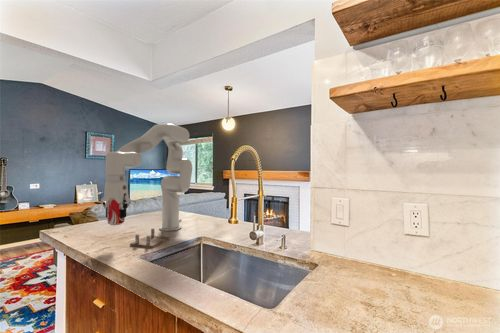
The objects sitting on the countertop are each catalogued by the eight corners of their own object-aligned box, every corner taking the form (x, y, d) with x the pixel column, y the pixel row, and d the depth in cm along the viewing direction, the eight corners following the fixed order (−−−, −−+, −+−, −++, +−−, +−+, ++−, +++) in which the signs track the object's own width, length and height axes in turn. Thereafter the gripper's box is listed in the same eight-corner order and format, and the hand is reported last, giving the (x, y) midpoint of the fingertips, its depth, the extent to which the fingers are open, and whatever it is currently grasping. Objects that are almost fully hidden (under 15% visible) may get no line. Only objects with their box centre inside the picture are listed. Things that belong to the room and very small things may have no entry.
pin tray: (149, 237, 130) (149, 227, 130) (169, 239, 127) (169, 229, 127) (129, 246, 116) (130, 234, 116) (152, 248, 113) (152, 237, 113)
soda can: (117, 226, 110) (116, 199, 110) (103, 225, 111) (103, 199, 111) (128, 222, 117) (127, 197, 117) (115, 221, 118) (114, 196, 118)
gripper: (137, 178, 115) (137, 216, 116) (106, 177, 119) (107, 214, 120) (125, 179, 108) (126, 220, 108) (93, 178, 112) (93, 217, 113)
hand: (116, 216), depth 114 cm, fingers closed on soda can, 7 cm apart
